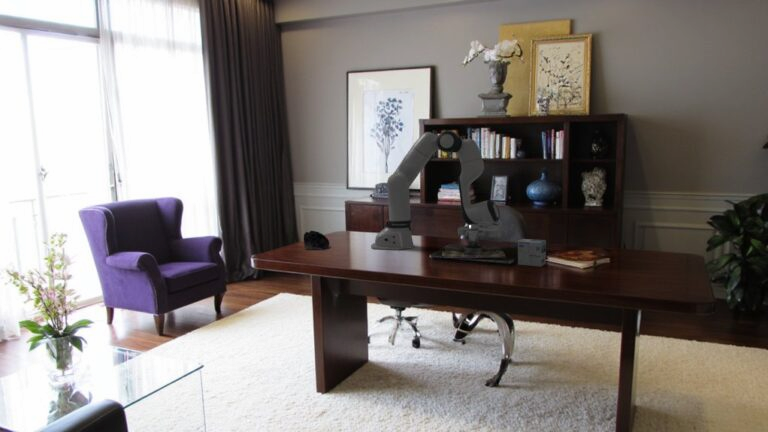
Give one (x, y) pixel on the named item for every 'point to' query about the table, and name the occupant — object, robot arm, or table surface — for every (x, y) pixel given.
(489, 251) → the shaft frame
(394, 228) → the robot arm
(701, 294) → the table surface
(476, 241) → the coupling sleeve
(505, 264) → the table surface
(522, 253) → the light bulb box
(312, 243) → the crystal cluster
